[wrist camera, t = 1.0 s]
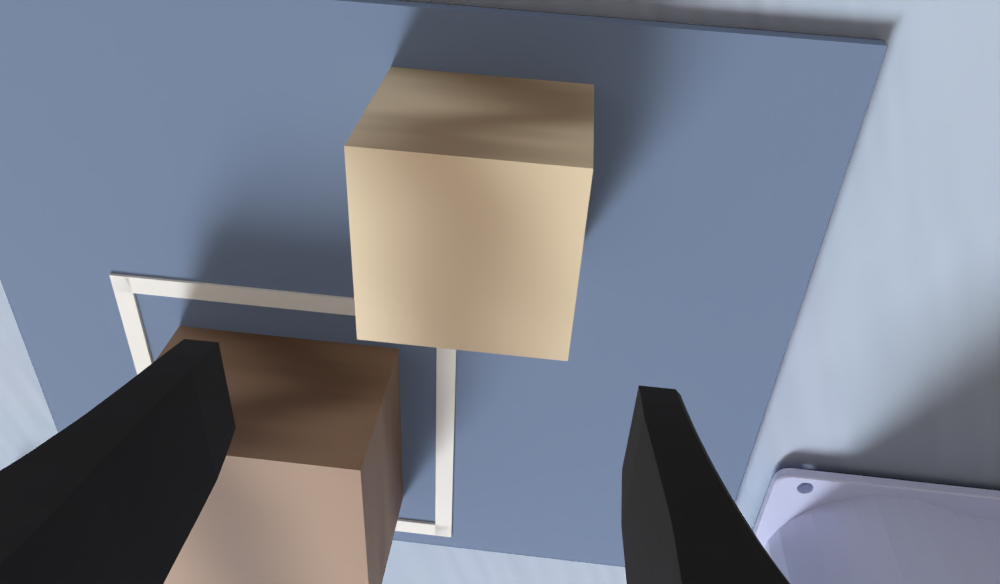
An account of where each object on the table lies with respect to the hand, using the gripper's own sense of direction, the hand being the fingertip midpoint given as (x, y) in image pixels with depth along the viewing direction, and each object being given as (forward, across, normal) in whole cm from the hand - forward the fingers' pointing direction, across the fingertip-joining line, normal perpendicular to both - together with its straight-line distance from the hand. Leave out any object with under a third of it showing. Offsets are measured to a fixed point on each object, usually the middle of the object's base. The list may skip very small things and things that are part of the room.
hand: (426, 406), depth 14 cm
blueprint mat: (+9, +3, +6) cm, 11 cm away
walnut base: (+9, +6, +10) cm, 15 cm away
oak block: (+9, 0, 0) cm, 9 cm away
